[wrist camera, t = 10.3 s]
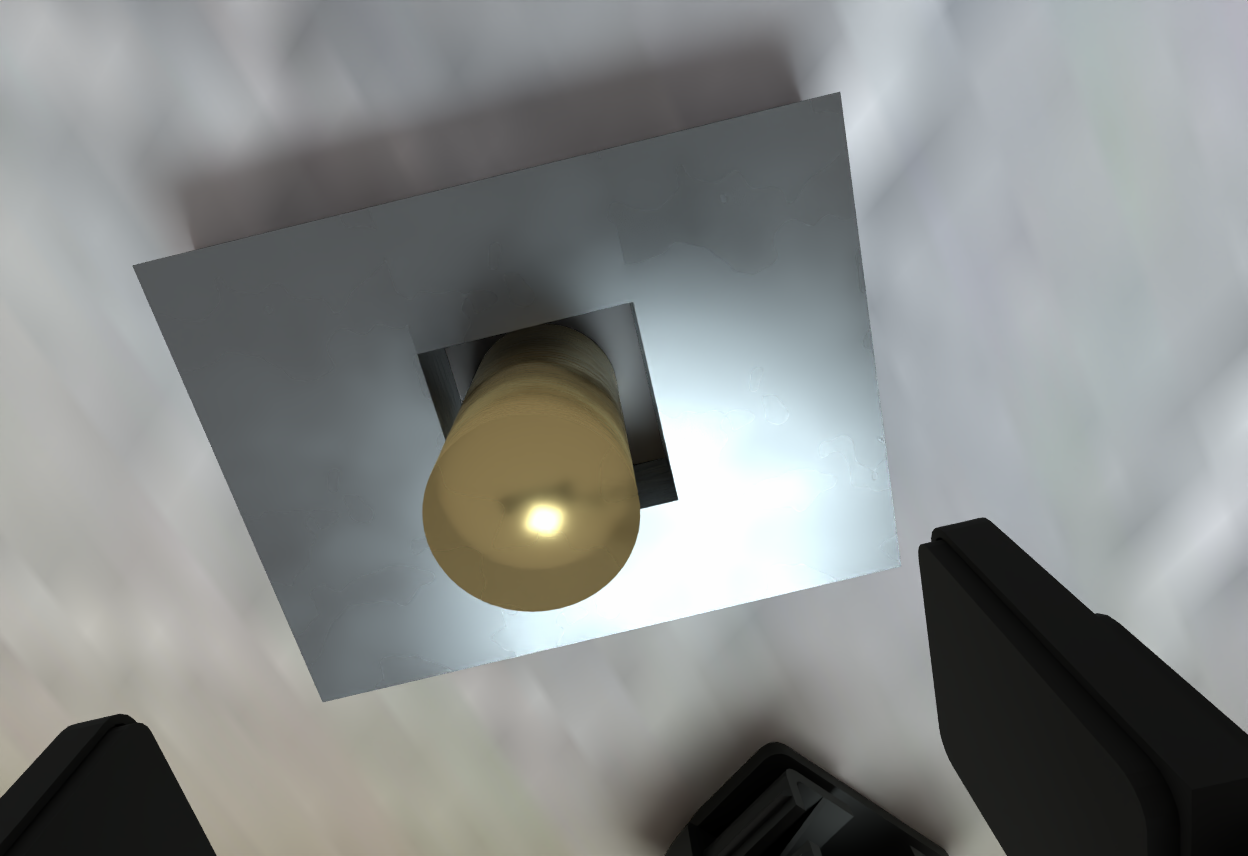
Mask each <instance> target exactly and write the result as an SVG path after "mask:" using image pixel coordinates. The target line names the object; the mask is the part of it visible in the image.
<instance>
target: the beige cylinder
mask: <svg viewBox="0 0 1248 856" xmlns="http://www.w3.org/2000/svg"><path fill="white" fill-rule="evenodd" d="M422 519H423V527H424V532H425V536H426V539H427V543H428V545H429V547H430V550H431V552H432V554H433V556H434V558H435V559H436V561H437V563H438V564H439V566H440V567H441V568H442V570H443V571H444V572H445V573H446V574H447V576H448V577H449V578H450V579H451V580H452V581H453V582H455V583H456V584H457V585H458V586H459V587H460V588H462V589H463V590H465V591H466V592H467V593H469V594H470V595H472V596H474V597H476V598H477V599H479V600H481V601H484V602H486V603H489V604H491V605H494V606H497V607H501V608H504V609H509V610H515V611H524V612H540V611H550V610H556V609H561V608H564V607H567V606H571V605H574V604H576V603H578V602H581V601H583V600H585V599H587V598H589V597H590V596H592V595H594V594H596V593H597V592H598V591H600V590H601V589H602V588H604V587H605V586H606V585H607V584H608V583H610V582H611V581H612V580H613V579H614V578H615V577H616V576H617V574H618V573H619V572H620V571H621V569H622V568H623V567H624V565H625V564H626V562H627V560H628V559H629V557H630V555H631V553H632V551H633V548H634V546H635V543H636V540H637V536H638V532H639V526H640V502H639V496H638V490H637V485H636V480H635V475H634V470H633V464H632V459H631V454H630V449H629V444H628V439H627V433H626V428H625V423H624V418H623V413H622V408H621V402H620V397H619V392H618V387H617V382H616V377H615V374H614V371H613V368H612V366H611V364H610V362H609V360H608V358H607V357H606V355H605V354H604V352H603V351H602V350H601V349H600V348H599V347H598V345H596V344H595V343H594V342H593V341H592V340H591V339H589V338H588V337H586V336H585V335H584V334H582V333H580V332H578V331H576V330H574V329H571V328H568V327H565V326H560V325H556V324H540V325H536V326H531V327H527V328H523V329H519V330H515V331H512V332H510V333H508V334H507V335H505V336H503V337H502V338H501V339H499V340H498V341H497V342H496V343H495V344H494V345H493V346H492V347H491V348H490V349H489V350H488V352H487V353H486V355H485V356H484V358H483V359H482V361H481V363H480V365H479V367H478V370H477V372H476V374H475V376H474V379H473V381H472V383H471V385H470V388H469V390H468V392H467V394H466V396H465V399H464V401H463V403H462V405H461V408H460V410H459V412H458V414H457V416H456V419H455V421H454V423H453V425H452V428H451V430H450V432H449V434H448V437H447V439H446V441H445V443H444V445H443V448H442V450H441V452H440V454H439V457H438V459H437V461H436V463H435V465H434V468H433V470H432V472H431V474H430V477H429V479H428V482H427V485H426V488H425V492H424V498H423V504H422Z"/></svg>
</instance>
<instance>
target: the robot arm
mask: <svg viewBox="0 0 1248 856" xmlns="http://www.w3.org/2000/svg"><path fill="white" fill-rule="evenodd" d="M918 556H919V566H920V574H921V582H922V590H923V598H924V607H925V615H926V623H927V631H928V640H929V648H930V656H931V664H932V672H933V681H934V689H935V697H936V705H937V713H938V722H939V729H940V735H941V739H942V742H943V745H944V748H945V751H946V753H947V756H948V758H949V760H950V762H951V764H952V766H953V767H954V769H955V771H956V772H957V774H958V776H959V777H960V779H961V781H962V782H963V784H964V786H965V787H966V789H967V791H968V792H969V794H970V796H971V797H972V799H973V801H974V802H975V804H976V805H977V807H978V809H979V810H980V812H981V814H982V815H983V817H984V819H985V820H986V822H987V824H988V825H989V827H990V829H991V830H992V832H993V834H994V835H995V837H996V839H997V840H998V842H999V843H1000V845H1001V847H1002V848H1003V850H1004V852H1005V853H1006V855H1007V856H1248V734H1246V733H1245V732H1244V731H1243V730H1242V729H1241V728H1240V727H1238V726H1237V725H1236V724H1235V723H1234V722H1233V721H1232V720H1230V719H1229V718H1228V717H1227V716H1226V715H1225V714H1223V713H1222V712H1221V711H1220V710H1219V709H1218V708H1217V707H1215V706H1214V705H1213V704H1212V703H1211V702H1210V701H1208V700H1207V699H1206V698H1205V697H1204V696H1203V695H1202V694H1200V693H1199V692H1198V691H1197V690H1196V689H1195V688H1193V687H1192V686H1191V685H1190V684H1189V683H1188V682H1187V681H1185V680H1184V679H1183V678H1182V677H1181V676H1180V675H1179V674H1177V673H1176V672H1175V671H1174V670H1173V669H1172V668H1170V667H1169V666H1168V665H1167V664H1166V663H1165V662H1164V661H1162V660H1161V659H1160V658H1159V657H1158V656H1157V655H1155V654H1154V653H1153V652H1152V651H1151V650H1150V649H1149V648H1147V647H1146V646H1145V645H1144V644H1143V643H1142V642H1140V641H1139V640H1138V639H1137V638H1136V637H1135V636H1134V635H1132V634H1131V633H1130V632H1129V631H1128V630H1127V629H1126V628H1124V627H1123V626H1122V625H1121V624H1120V623H1118V622H1117V621H1115V620H1114V619H1112V618H1111V617H1109V616H1108V615H1104V614H1099V613H1096V614H1094V613H1093V612H1092V611H1091V610H1090V609H1089V608H1087V607H1086V606H1085V605H1084V604H1083V603H1082V602H1081V601H1080V600H1078V599H1077V598H1076V597H1075V596H1074V595H1073V594H1072V593H1071V592H1070V591H1068V590H1067V589H1066V588H1065V587H1064V586H1063V585H1062V584H1061V583H1059V582H1058V581H1057V580H1056V579H1055V578H1054V577H1053V576H1052V575H1050V574H1049V573H1048V572H1047V571H1046V570H1045V569H1044V568H1043V567H1041V566H1040V565H1039V564H1038V563H1037V562H1036V561H1035V560H1034V559H1033V558H1031V557H1030V556H1029V555H1028V554H1027V553H1026V552H1025V551H1024V550H1022V549H1021V548H1020V547H1019V546H1018V545H1017V544H1016V543H1015V542H1013V541H1012V540H1011V539H1010V538H1009V537H1008V536H1007V535H1006V534H1004V533H1003V532H1002V531H1001V530H1000V529H999V528H998V527H997V526H996V525H994V524H993V523H992V522H991V521H990V520H988V519H986V518H977V519H973V520H969V521H964V522H960V523H955V524H951V525H947V526H942V527H938V528H935V529H934V530H933V531H932V537H931V542H929V543H925V544H921V545H920V546H919V550H918ZM0 856H216V854H215V852H214V850H213V848H212V846H211V844H210V842H209V840H208V838H207V837H206V835H205V833H204V831H203V829H202V827H201V825H200V823H199V821H198V819H197V818H196V816H195V814H194V812H193V810H192V808H191V806H190V804H189V802H188V800H187V799H186V797H185V795H184V793H183V791H182V789H181V787H180V785H179V783H178V781H177V780H176V778H175V776H174V774H173V772H172V770H171V768H170V766H169V764H168V762H167V761H166V759H165V757H164V755H163V753H162V751H161V749H160V747H159V745H158V743H157V742H156V740H155V738H154V736H153V734H152V732H151V731H150V729H149V728H148V727H147V726H146V725H144V724H143V723H137V722H136V721H135V720H134V719H133V718H131V717H130V716H128V715H125V714H117V715H112V716H108V717H103V718H99V719H95V720H90V721H86V722H82V723H77V724H74V725H71V726H68V727H67V728H66V729H65V730H63V731H62V732H61V733H60V734H59V735H58V736H57V737H56V738H55V739H54V740H53V742H52V743H51V744H50V745H49V746H48V747H47V748H46V749H45V750H44V751H43V752H42V754H41V755H40V756H39V757H38V758H37V759H36V760H35V761H34V762H33V763H32V764H31V766H30V767H29V768H28V769H27V770H26V771H25V772H24V773H23V774H22V775H21V776H20V777H19V779H18V780H17V781H16V782H15V783H14V784H13V785H12V786H11V787H10V788H9V789H8V791H7V792H6V793H5V794H4V795H3V796H2V797H1V798H0Z"/></svg>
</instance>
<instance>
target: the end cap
mask: <svg viewBox="0 0 1248 856" xmlns="http://www.w3.org/2000/svg"><path fill="white" fill-rule="evenodd" d="M665 856H949V855H948V854H947V853H946V851H945V850H944V849H942V848H941V847H939V846H938V845H936V844H935V843H933V842H932V841H930V840H929V839H927V838H926V837H924V836H923V835H921V834H920V833H918V832H917V831H915V830H914V829H912V828H910V827H909V826H907V825H906V824H904V823H903V822H901V821H900V820H898V819H897V818H895V817H894V816H892V815H891V814H889V813H888V812H886V811H885V810H883V809H882V808H880V807H879V806H877V805H876V804H874V803H873V802H871V801H870V800H868V799H867V798H865V797H863V796H862V795H860V794H859V793H857V792H856V791H854V790H853V789H851V788H850V787H848V786H847V785H845V784H844V783H842V782H841V781H839V780H838V779H836V778H835V777H833V776H832V775H830V774H829V773H827V772H826V771H824V770H823V769H821V768H820V767H818V766H816V765H815V764H813V763H812V762H810V761H809V760H807V759H806V758H804V757H803V756H801V755H800V754H798V753H797V752H795V751H794V750H792V749H791V748H789V747H788V746H786V745H784V744H781V743H778V742H774V743H768V744H766V745H765V746H763V747H762V748H760V749H759V750H758V751H757V752H756V753H755V754H754V755H753V756H752V757H751V758H750V759H749V760H748V761H747V762H746V763H745V764H744V765H743V766H742V767H741V768H740V769H739V770H738V771H737V772H736V773H735V774H734V775H733V776H732V777H731V778H730V779H729V780H728V781H727V782H726V783H725V784H724V785H723V786H722V787H721V788H720V789H719V790H718V791H717V792H716V793H715V794H714V795H713V796H712V797H711V798H710V799H709V800H708V801H707V802H706V803H705V804H704V805H703V806H702V807H701V808H700V809H699V810H698V811H697V812H696V814H695V815H694V817H693V818H692V819H691V821H690V822H689V823H688V825H687V826H686V827H685V828H684V829H683V830H682V832H681V833H680V834H679V835H678V836H677V838H676V839H675V840H674V842H673V843H672V845H671V846H670V848H669V849H668V851H667V853H666V855H665Z"/></svg>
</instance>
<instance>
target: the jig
mask: <svg viewBox="0 0 1248 856" xmlns="http://www.w3.org/2000/svg"><path fill="white" fill-rule="evenodd" d="M133 268H134V270H135V273H136V275H137V277H138V279H139V282H140V284H141V286H142V289H143V291H144V293H145V295H146V298H147V300H148V302H149V305H150V307H151V309H152V312H153V314H154V316H155V318H156V321H157V323H158V325H159V328H160V330H161V332H162V335H163V337H164V339H165V341H166V344H167V346H168V348H169V351H170V353H171V355H172V357H173V360H174V362H175V364H176V367H177V369H178V371H179V374H180V376H181V378H182V380H183V383H184V385H185V387H186V390H187V392H188V394H189V396H190V399H191V401H192V403H193V406H194V408H195V410H196V413H197V415H198V417H199V419H200V422H201V424H202V426H203V429H204V431H205V433H206V435H207V438H208V440H209V442H210V445H211V447H212V449H213V452H214V454H215V456H216V458H217V461H218V463H219V465H220V468H221V470H222V472H223V475H224V477H225V479H226V481H227V484H228V486H229V488H230V491H231V493H232V495H233V497H234V500H235V502H236V504H237V507H238V509H239V511H240V514H241V516H242V518H243V520H244V523H245V525H246V527H247V530H248V532H249V534H250V536H251V539H252V541H253V543H254V546H255V548H256V550H257V553H258V555H259V557H260V559H261V562H262V564H263V566H264V569H265V571H266V573H267V576H268V578H269V580H270V582H271V585H272V587H273V589H274V592H275V594H276V596H277V598H278V601H279V603H280V605H281V608H282V610H283V612H284V615H285V617H286V619H287V621H288V624H289V626H290V628H291V631H292V633H293V635H294V637H295V640H296V642H297V644H298V647H299V649H300V651H301V654H302V656H303V658H304V660H305V663H306V665H307V667H308V670H309V672H310V674H311V676H312V679H313V681H314V683H315V686H316V688H317V690H318V693H319V695H320V697H321V699H322V702H326V701H330V700H334V699H339V698H343V697H347V696H352V695H356V694H360V693H364V692H369V691H373V690H377V689H381V688H386V687H390V686H394V685H398V684H403V683H407V682H411V681H415V680H420V679H424V678H428V677H432V676H437V675H441V674H445V673H449V672H454V671H458V670H462V669H466V668H471V667H475V666H479V665H483V664H488V663H492V662H496V661H500V660H505V659H509V658H513V657H517V656H522V655H526V654H530V653H534V652H539V651H543V650H547V649H552V648H556V647H560V646H564V645H569V644H573V643H577V642H581V641H586V640H590V639H594V638H598V637H603V636H607V635H611V634H615V633H620V632H624V631H628V630H632V629H637V628H641V627H645V626H649V625H654V624H658V623H662V622H666V621H671V620H675V619H679V618H683V617H688V616H692V615H696V614H700V613H705V612H709V611H713V610H717V609H722V608H726V607H730V606H734V605H739V604H743V603H747V602H751V601H756V600H760V599H764V598H769V597H773V596H777V595H781V594H786V593H790V592H794V591H798V590H803V589H807V588H811V587H815V586H820V585H824V584H828V583H832V582H837V581H841V580H845V579H849V578H854V577H858V576H862V575H866V574H871V573H875V572H879V571H883V570H888V569H892V568H896V567H900V566H901V562H900V554H899V546H898V538H897V531H896V523H895V515H894V507H893V499H892V492H891V484H890V476H889V468H888V460H887V453H886V445H885V437H884V429H883V421H882V414H881V406H880V398H879V390H878V382H877V375H876V367H875V359H874V351H873V344H872V336H871V328H870V320H869V312H868V305H867V297H866V289H865V281H864V273H863V266H862V258H861V250H860V242H859V234H858V227H857V219H856V211H855V203H854V196H853V188H852V180H851V172H850V164H849V157H848V149H847V141H846V133H845V125H844V118H843V110H842V102H841V94H840V92H837V93H833V94H829V95H825V96H821V97H817V98H813V99H809V100H804V101H800V102H796V103H792V104H788V105H784V106H780V107H776V108H772V109H768V110H764V111H760V112H756V113H752V114H747V115H743V116H739V117H735V118H731V119H727V120H723V121H719V122H715V123H711V124H707V125H703V126H699V127H695V128H690V129H686V130H682V131H678V132H674V133H670V134H666V135H662V136H658V137H654V138H650V139H646V140H642V141H638V142H633V143H629V144H625V145H621V146H617V147H613V148H609V149H605V150H601V151H597V152H593V153H589V154H585V155H581V156H576V157H572V158H568V159H564V160H560V161H556V162H552V163H548V164H544V165H540V166H536V167H532V168H528V169H523V170H519V171H515V172H511V173H507V174H503V175H499V176H495V177H491V178H487V179H483V180H479V181H475V182H471V183H466V184H462V185H458V186H454V187H450V188H446V189H442V190H438V191H434V192H430V193H426V194H422V195H418V196H414V197H409V198H405V199H401V200H397V201H393V202H389V203H385V204H381V205H377V206H373V207H369V208H365V209H361V210H357V211H352V212H348V213H344V214H340V215H336V216H332V217H328V218H324V219H320V220H316V221H312V222H308V223H304V224H300V225H295V226H291V227H287V228H283V229H279V230H275V231H271V232H267V233H263V234H259V235H255V236H251V237H247V238H243V239H238V240H234V241H230V242H226V243H222V244H218V245H214V246H210V247H206V248H202V249H198V250H194V251H190V252H186V253H181V254H177V255H173V256H169V257H165V258H161V259H157V260H153V261H149V262H145V263H141V264H137V265H133ZM626 303H630V305H631V310H632V314H633V319H634V323H635V327H636V332H637V336H638V340H639V345H640V349H641V353H642V358H643V362H644V366H645V371H646V375H647V379H648V384H649V388H650V392H651V397H652V401H653V406H654V410H655V414H656V419H657V423H658V427H659V432H660V436H661V440H662V445H663V449H664V453H665V458H663V459H659V460H655V461H650V462H646V463H642V464H638V465H634V466H633V470H634V475H635V480H636V485H637V490H638V496H639V502H640V526H639V532H638V536H637V540H636V543H635V546H634V548H633V551H632V553H631V555H630V557H629V559H628V560H627V562H626V564H625V565H624V567H623V568H622V569H621V571H620V572H619V573H618V574H617V576H616V577H615V578H614V579H613V580H612V581H611V582H610V583H608V584H607V585H606V586H605V587H604V588H602V589H601V590H600V591H598V592H597V593H596V594H594V595H592V596H590V597H589V598H587V599H585V600H583V601H581V602H578V603H576V604H574V605H571V606H567V607H564V608H561V609H556V610H550V611H540V612H524V611H515V610H509V609H504V608H501V607H497V606H494V605H491V604H489V603H486V602H484V601H481V600H479V599H477V598H476V597H474V596H472V595H470V594H469V593H467V592H466V591H465V590H463V589H462V588H460V587H459V586H458V585H457V584H456V583H455V582H453V581H452V580H451V579H450V578H449V577H448V576H447V574H446V573H445V572H444V571H443V570H442V568H441V567H440V566H439V564H438V563H437V561H436V559H435V558H434V556H433V554H432V552H431V550H430V547H429V545H428V543H427V539H426V536H425V532H424V527H423V519H422V504H423V498H424V492H425V488H426V485H427V482H428V479H429V477H430V474H431V472H432V470H433V468H434V465H435V463H436V461H437V459H438V457H439V454H440V452H441V450H442V448H443V445H444V443H445V441H446V439H447V437H448V434H449V432H450V430H451V428H452V425H453V423H454V421H455V419H456V416H457V414H458V412H459V410H460V408H461V405H462V403H461V400H460V397H459V394H458V391H457V388H456V384H455V381H454V378H453V375H452V372H451V369H450V365H449V362H448V359H447V356H446V353H445V350H444V348H445V347H449V346H453V345H457V344H461V343H465V342H469V341H474V340H478V339H482V338H486V337H490V336H494V335H498V334H502V333H507V332H511V331H515V330H519V329H523V328H527V327H531V326H536V325H540V324H544V323H548V322H552V321H556V320H560V319H564V318H569V317H573V316H577V315H581V314H585V313H589V312H593V311H597V310H602V309H606V308H610V307H614V306H618V305H622V304H626Z"/></svg>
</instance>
